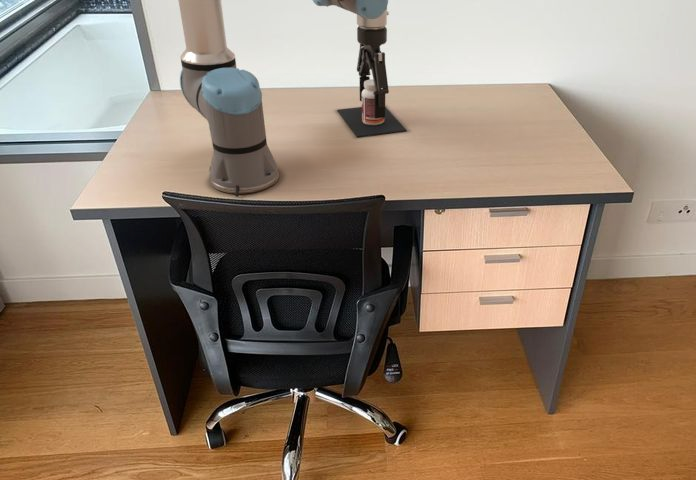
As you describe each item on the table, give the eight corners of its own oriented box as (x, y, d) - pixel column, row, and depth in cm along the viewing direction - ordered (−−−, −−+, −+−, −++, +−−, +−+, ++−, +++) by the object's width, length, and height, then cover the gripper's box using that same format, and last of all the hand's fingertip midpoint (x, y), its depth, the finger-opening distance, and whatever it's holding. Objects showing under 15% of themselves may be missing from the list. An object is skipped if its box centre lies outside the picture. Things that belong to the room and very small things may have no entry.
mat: (406, 131, 158) (406, 129, 158) (356, 137, 154) (356, 136, 154) (383, 105, 173) (383, 104, 173) (337, 110, 170) (337, 109, 169)
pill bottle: (389, 122, 162) (389, 82, 156) (372, 128, 159) (372, 87, 152) (374, 116, 166) (373, 76, 159) (357, 121, 162) (356, 81, 156)
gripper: (402, 37, 139) (400, 123, 151) (371, 14, 158) (371, 92, 170) (372, 39, 137) (372, 126, 149) (344, 15, 156) (346, 94, 168)
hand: (372, 108), depth 160 cm, fingers open, 13 cm apart
